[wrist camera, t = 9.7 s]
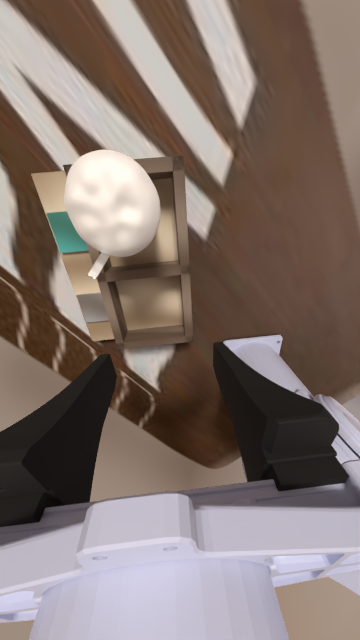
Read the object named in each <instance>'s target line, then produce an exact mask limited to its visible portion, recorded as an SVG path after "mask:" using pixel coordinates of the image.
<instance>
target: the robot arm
mask: <svg viewBox="0 0 360 640" xmlns="http://www.w3.org/2000/svg"><path fill="white" fill-rule="evenodd" d="M282 339H283V338H282V336H281V335H272V336H263V337H253V338H244V339H235V340H226V341H224V342H217V343H214V346H213V366H214V370H215V374H216V378H217V381H218V383H219V386H220V389H221V391H222V394H223V396H224V399H225V401H226V404H227V407H228V409H229V412H230V415H231V419H232V423H233V426H234V430H235V433H236V437H237V441H238V445H239V449H240V453H241V456H242V462H243V469H244V473H245V476H246V479H247V482H246V483H238V484H231V485H223V486H215V487H207V488H199V489H191V490H183V491H170V492H169V491H165V492H157V493H149V494H141V495H133V496H126V497H118V498H110V499H105V500H101V501H97V502H90V495H91V488H92V481H93V475H94V468H95V462H96V457H97V452H98V447H99V442H100V437H101V432H102V428H103V424H104V420H105V418H106V414H107V411H108V408H109V405H110V402H111V399H112V396H113V392H114V389H115V384H116V377H117V375H116V372H115V369H114V366H113V363H112V360H111V357H110V354H104V355H100V356H99V357H98V358H97V359H96V360H95V361H94V362H93V363H92V364H91V365H90V366H89V367H88V368H87V369H86V370H85V371H83V372H82V373H81V374H80V375H79V376H78V377H77V378H76V379H75V380H74V381H73V382H72V383H71V384H70V385H68V386H67V387H66V388H65V389H64V390H62V391H61V392H60V393H59V394H58V395H56V396H55V397H54V398H53V399H51V400H50V401H48V402H47V403H46V404H44V405H43V406H41V407H40V408H38V409H37V410H35V411H34V412H33V413H31V414H30V415H28V416H26V417H25V418H23V419H22V420H20V421H18V422H17V423H15V424H13V425H12V426H10V427H8V428H7V429H5V430H3V431H1V432H0V623H4V622H17V621H28V620H35V621H34V624H33V627H32V630H31V633H30V637H29V640H289V637H288V633H287V630H286V627H285V623H284V620H283V617H282V613H281V610H280V607H279V603H278V600H277V596H276V593H275V590H274V587H279V586H284V585H289V584H294V583H299V582H304V581H308V580H313V579H319V578H323V577H329V578H331V579H333V580H335V581H337V582H338V583H340V584H342V585H344V586H345V587H347V588H348V589H350V590H352V591H353V592H355V593H356V594H358V595H359V596H360V422H359V421H358V420H357V419H356V418H355V417H354V416H353V415H352V414H351V413H350V412H349V411H347V410H346V409H345V408H344V407H343V406H342V405H341V404H339V403H338V402H337V401H336V400H334V399H333V398H332V397H329V396H323V395H321V394H317V395H316V396H315V397H314V396H313V395H312V394H311V393H310V392H309V391H308V389H307V388H306V387H305V386H304V385H303V383H302V382H301V381H300V380H299V379H298V377H297V376H296V375H295V374H294V373H293V372H292V370H291V369H290V368H289V367H288V366H287V364H286V363H285V362H284V361H283V360H282V358H281V357H280V356H279V352H280V348H281V344H282ZM277 341H278V342H277Z"/></svg>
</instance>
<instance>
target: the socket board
mask: <svg viewBox="0 0 360 640" xmlns="http://www.w3.org/2000/svg"><path fill="white" fill-rule="evenodd" d="M133 160H135V161H136V162H137V163H138V164H139V165H140V166H141V167H142V168H143V169H144V170H145V171H146V173H147V174H148V176H149V177H150V179H151V181H152V182H153V184H154V186H155V188H156V190H157V193H158V196H159V200H160V222H159V226H158V229H157V232H156V234H155V236H154V238H153V240H152V241H151V243H150V244H149V245H148V246H147V247H146V248H145V249H143V250H142V251H140V252H138V253H137V254H134V255H131V256H127V257H116V256H110V257H109V258H108V260H107V262H106V263H105V265H104V267H103V269H102V270H101V272H100V274H99V275H98V277H97V278H96V279H94V278H91V277H88V276H87V274H88V272H89V271H90V269H91V267H92V266H93V264H94V263H95V261H96V260H97V258H98V257H99V255H100V254H101V252H100V251H98V250H96V249H94V248H93V247H91V246H90V245H88V244H87V243H86V242H85V241H84V240H83V239H82V238H81V237H80V236H79V234H78V233H77V231H76V229H75V228H74V226H73V224H72V222H71V220H70V218H69V216H68V213H67V211H66V208H65V203H64V193H65V185H66V179H67V175H68V172H69V170H70V168H71V166H72V165H73V164H70V165H63V167H64V170H65V171H59V172H47V173H34V174H31V175H32V178H33V181H34V183H35V186H36V189H37V191H38V194H39V197H40V200H41V202H42V205H43V208H44V210H45V213H46V216H47V219H48V221H49V224H50V227H51V230H52V232H53V235H54V238H55V240H56V243H57V246H58V249H59V251H60V254H61V257H62V259H63V262H64V265H65V268H66V270H67V273H68V276H69V278H70V281H71V284H72V287H73V289H74V292H75V295H76V297H77V300H78V303H79V306H80V308H81V311H82V314H83V316H84V319H85V322H86V325H87V327H88V330H89V333H90V335H91V338H92V341H99V340H109V339H115V342H116V345H117V349H127V348H136V347H146V346H155V345H165V344H174V343H184V342H193V326H192V307H191V288H190V269H189V250H188V231H187V212H186V193H185V174H184V156H171V157H159V158H146V159H133Z"/></svg>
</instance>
